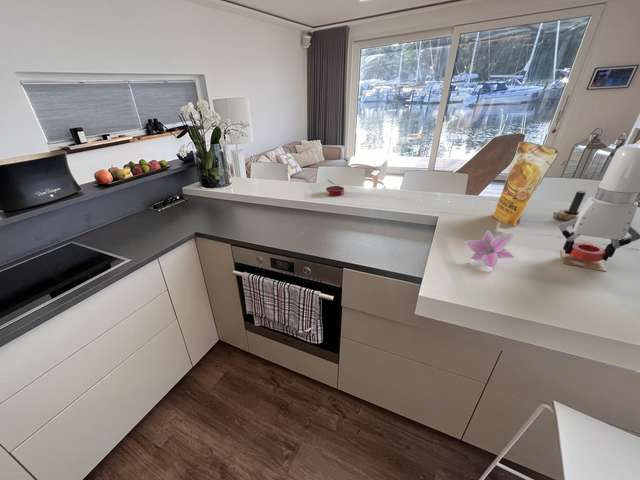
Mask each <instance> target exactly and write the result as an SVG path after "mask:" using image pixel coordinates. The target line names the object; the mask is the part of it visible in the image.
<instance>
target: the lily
mask: <svg viewBox="0 0 640 480" xmlns="http://www.w3.org/2000/svg"><path fill="white" fill-rule="evenodd" d="M513 238H514V233H507V234H502V235H498V236H496V237H494V235H493V233H492V232H491V231H490V230H489V229H486V231H485V232H484V234H483V237H482V239H471V240H470V239H469V240H465V241H464V245H466V247H468V248H469V249H470V250H471V251H473V252H474V253H473V255H472V256H471V257H470V259H474V260H476V261H477V262H481V261H482V263H483V266H485V265H486V266H489V267H492V268H493V269H495V267H496V265H497V263H498V261H499V259H513V258H515V256H514V255H513V254H512V252H510V251H508V250H507V249H506V247H507V245H508V244H509V243H510V242H511V240H512V239H513Z"/></svg>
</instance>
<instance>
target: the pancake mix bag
mask: <svg viewBox="0 0 640 480" xmlns="http://www.w3.org/2000/svg"><path fill="white" fill-rule="evenodd" d="M558 156H559V151H558V149H557V148H555V147H550V146H547V145H546V146H545V145H542V144H538V143H535V142H530V141H523V140H522V141H519V142H517V147H516V150H515V153H514V156H513V159H512V161H511V165H510V167H509V171H508V173H507V176H506V178H505V180H504V184H503V189H502V191H501V193H500V196H499V199H498V202H497V204H496V206H495V209H494V211H493V214H492V216H493V218H494V219H496V220H497V221H498V222H499V223H501V222H503V223H504V224H506V225H511V226H513V227H517V226H518V225H519V224H520V223H521V221H520V220H521V217H522V215H523V214H524V211H525V210H526V208H527V206H528V204H529V202H530V201H531V199H532V197H533V196H534V194H535V192H536V191H537V189H538V188H539V186H540V185H541V183H542V181H543V180H544V178H545V177H546V175H547V173H548V172H549V170H550V169H551V167H552V166H553V165H554V163H555V162H556V160H557V158H558Z"/></svg>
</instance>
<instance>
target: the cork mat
mask: <svg viewBox="0 0 640 480" xmlns="http://www.w3.org/2000/svg"><path fill="white" fill-rule="evenodd" d="M560 254H561V264H562V265H567V266H571V267H572V266H573V267H578V268H581V269H582V268H583V269H588V270H593V271H599V272H607V267H606V265H605V262H604V260H601V261H599V262H589V261H583V260H580V259H577V258H574V257H572V256H570V255H569V254H565V250H563V249H561V250H560Z"/></svg>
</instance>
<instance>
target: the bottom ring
mask: <svg viewBox="0 0 640 480" xmlns="http://www.w3.org/2000/svg"><path fill="white" fill-rule="evenodd" d="M568 210H569V208H567V209H559V210H558V212H557V213H558V214H557V217H558V218H560V219H563V220H566V221H570V220H573V219H576V217H577V215H578V213H579V212H580V210H578V211H577V213H576V215H571V214H567V212H568ZM566 221H565V222H566Z"/></svg>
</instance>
